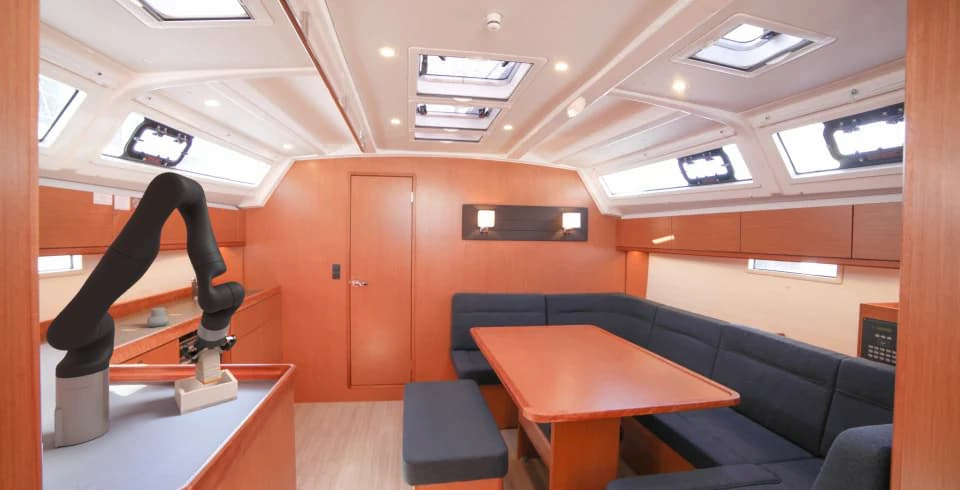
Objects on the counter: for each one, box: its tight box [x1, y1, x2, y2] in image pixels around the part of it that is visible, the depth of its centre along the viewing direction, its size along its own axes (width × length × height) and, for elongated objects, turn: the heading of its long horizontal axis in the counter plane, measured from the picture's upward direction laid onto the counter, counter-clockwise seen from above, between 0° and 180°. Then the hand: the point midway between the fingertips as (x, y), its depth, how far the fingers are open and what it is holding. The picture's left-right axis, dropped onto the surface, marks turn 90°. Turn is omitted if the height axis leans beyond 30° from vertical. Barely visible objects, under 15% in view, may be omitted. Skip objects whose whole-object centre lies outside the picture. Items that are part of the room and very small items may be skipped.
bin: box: [174, 368, 239, 416], centre depth 111 cm, size 14×14×6 cm
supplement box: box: [193, 339, 221, 385], centre depth 111 cm, size 8×5×13 cm, turn 54°
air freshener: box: [147, 306, 170, 328], centre depth 194 cm, size 11×8×10 cm
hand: (206, 358), depth 112 cm, fingers closed on supplement box, 5 cm apart
